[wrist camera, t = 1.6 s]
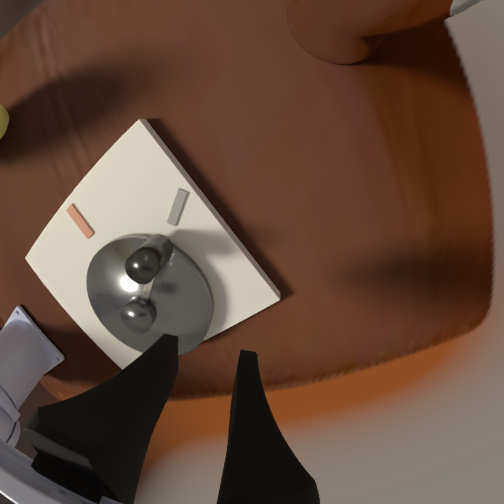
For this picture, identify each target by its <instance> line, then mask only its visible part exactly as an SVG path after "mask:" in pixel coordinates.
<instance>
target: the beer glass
mask: <svg viewBox="0 0 504 504" xmlns="http://www.w3.org/2000/svg"><path fill="white" fill-rule="evenodd" d="M481 1H483V0H291V1H290V3H289V6H288V10H287V23H288V27H289V30H290V32H291V34H292V36H293V37H294V39H295V40H296V42H297V43H298V44H299V45H300V46H301V47H302V48H303V49H304V50H306V51H307V52H308V53H310V54H311V55H313V56H315V57H317V58H319V59H321V60H324V61H327V62H330V63H335V64H353V63H358V62H361V61H364V60H366V59H368V58H369V57H371V56H372V55H373V54H375V53H376V52H377V50H378V49H379V48H380V46H381V45H382V43H383V41H384V39H385V37H386V36H390V35H394V34H398V33H402V32H406V31H410V30H415V29H418V28H421V27H424V26H428V25H431V24H434V23H438V22H440V21H443V20H445V19H447V18H449V17H452V16H454V15H456V14H458V13H460V12H463V11H465V10H467V9H468V8H470V7H472V6H473V5H475V4H477V3H479V2H481Z"/></svg>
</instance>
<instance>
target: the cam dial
mask: <svg viewBox="0 0 504 504" xmlns="http://www.w3.org/2000/svg"><path fill="white" fill-rule="evenodd" d="M86 287H87V294H88V298H89V301H90V304H91V306H92V308H93V311H94V312H95V314H96V316H97V318H98V319H99V320H100V322H101V323H102V325H103V326H104V327H105V328H106V329H107V330H108V331H109V332H110V333H111V334H112V335H113V336H114V337H115V338H117V339H118V340H119V341H120V342H122V343H123V344H125V345H127V346H128V347H130V348H132V349H134V350H136V351H139V352H142V353H144V352H145V351H146V350H147V349H148V348H149V347H150V346H151V345H152V344H153V343H155V342H156V341H157V340H158V339H159V338H160V337H161V336H162V335H163V334H169V335H174V336H178V355H182V354H185V353H187V352H189V351H191V350H193V349H195V348H196V347H197V346H198V345H199V344H200V343H201V342H202V341H203V340H204V338H205V336H206V335H207V333H208V330H209V327H210V324H211V321H212V318H213V313H214V301H213V295H212V291H211V288H210V285H209V283H208V280H207V278H206V277H205V275H204V273H203V272H202V270H201V269H200V267H199V266H198V265H197V264H196V262H195V261H194V260H193V259H192V258H191V257H190V256H189V255H188V254H186V253H185V252H184V251H183V250H181V249H180V248H179V247H177V246H176V245H174V244H172V242H171V241H170V239H169V238H168V237H166V236H165V235H162V234H154V235H147V234H128V235H123V236H120V237H118V238H115V239H114V240H112V241H110V242H109V243H108V244H106V245H105V246H104V247H102V248H101V249H100V250H99V251H98V252H97V253H96V254H95V255H94V257H93V258H92V260H91V262H90V264H89V267H88V271H87V276H86Z"/></svg>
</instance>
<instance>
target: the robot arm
mask: <svg viewBox="0 0 504 504" xmlns="http://www.w3.org/2000/svg"><path fill="white" fill-rule="evenodd" d="M64 359H65V358H64V356H63V354H62V353H61V352H60V351H59V350H58V349H57V348H56V347H55V346H54V345H53V344H52V343H51V341H50V340H49V339H48V338H47V337H46V336H45V335H44V333H43V332H42V331H41V330H40V329H39V328H38V326H37V325H36V324H35V323H34V322H33V321H32V319H31V318H30V317H29V316H28V314H27V313H26V312H25V311H24V309H23V308H22V307H21V306H20V305H18V306H17V307H16V308H15V310H14V312H13V313H12V315H11V316H10V318H9V319H8V321H7V323H6V324H5V326H4V327H3V329H2V330H1V331H0V493H2V494H3V495H4V496H5V497H7V498H8V499H9V500H11V501H12V502H14V503H15V504H79V503H78V502H80V503H82V504H133V503H134V498H135V494H136V489H137V485H138V481H139V477H140V473H141V469H142V465H143V462H144V458H145V455H146V451H147V448H148V445H149V442H150V438H151V435H152V433H153V430H154V428H155V425H156V423H157V421H158V419H159V417H160V414H161V412H162V410H163V408H164V405H165V403H166V401H167V399H168V397H169V395H170V392H171V390H172V388H173V385H174V382H175V378H176V375H177V372H178V336H174V335H169V334H163V335H162V336H161V337H160V338H159V339H158V340H157V341H156V342H155V343H153V344H152V345H151V346H150V347H149V348H148V349H147V350H146V351H145V352H144V353H142V354H141V355H140V356H139V357H138V358H136V359H135V360H134V361H133V362H132V363H130V364H129V365H128V366H126V367H125V368H124V369H122V370H121V371H120V372H118V373H117V374H115V375H114V376H112V377H111V378H109V379H108V380H106V381H104V382H103V383H101V384H99V385H97V386H95V387H94V388H92V389H90V390H88V391H86V392H84V393H81V394H79V395H77V396H74V397H72V398H69V399H66V400H64V401H61V402H58V403H54V404H50V405H46V406H43V407H39V408H38V409H37V410H36V411H35V412H34V414H33V415H32V417H31V418H30V420H29V421H28V423H27V424H26V426H25V427H24V429H23V432H24V435H25V437H26V438H27V439H28V441H29V442H30V444H31V445H32V446H33V447H34V449H35V450H36V451H37V452H38V453H37V455H36V457H35V459H34V460H32V459H31V458H29V457H27V456H26V455H24V454H23V453H21V452H20V451H18V450H17V449H15V448H14V447H15V445H16V443H17V441H18V439H19V436H20V424H19V422H18V420H17V419H18V418H19V416H20V413H18V411H17V410H18V409H19V407H20V406H21V404H22V403H23V401H24V400H25V399H26V397H27V396H28V395H29V393H30V392H31V391H32V389H33V388H34V387H35V385H36V384H37V383H38V381H39V380H40V379H41V377H42V376H43V375H44V374H45V373H47V372H48V371H50V370H51V369H52V368H54V367H55V366H56V365H58V364H59V363H61V362H62V361H63V360H64ZM67 496H68V497H67ZM73 499H74V500H75V501H74V500H73ZM76 501H77V502H76ZM217 504H320V498H319V493H318V489H317V485H316V482H315V480H314V479H313V478H312V477H311V476H310V474H309V473H308V472H307V471H306V470H305V469H304V467H303V466H302V465H301V463H300V462H299V461H298V459H297V458H296V456H295V455H294V454H293V452H292V450H291V449H290V447H289V446H288V444H287V442H286V441H285V439H284V437H283V436H282V434H281V432H280V430H279V428H278V426H277V424H276V422H275V420H274V417H273V415H272V413H271V410H270V407H269V405H268V402H267V399H266V396H265V393H264V390H263V386H262V382H261V378H260V374H259V368H258V360H257V354H256V352H252V351H246V350H241V351H240V356H239V361H238V366H237V372H236V378H235V383H234V389H233V394H232V400H231V410H230V422H229V434H228V445H227V453H226V458H225V463H224V468H223V474H222V479H221V484H220V490H219V494H218V500H217Z"/></svg>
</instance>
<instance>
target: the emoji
mask: <svg viewBox="0 0 504 504" xmlns="http://www.w3.org/2000/svg"><path fill="white" fill-rule="evenodd" d="M8 123H9V115H8V113H7V111H6V109H5V108H4V107H3V106H2V105H1V104H0V139H1V138H2V137H3V135H4V134H5V132H6V130H7V126H8Z"/></svg>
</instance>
